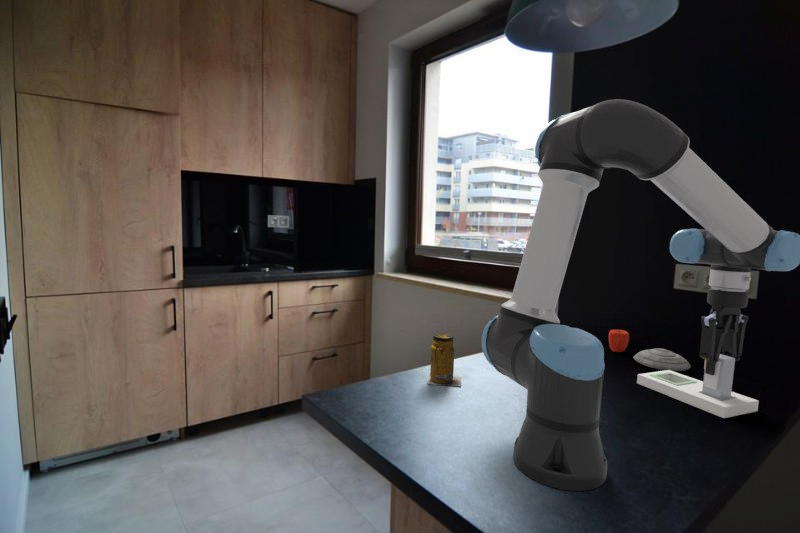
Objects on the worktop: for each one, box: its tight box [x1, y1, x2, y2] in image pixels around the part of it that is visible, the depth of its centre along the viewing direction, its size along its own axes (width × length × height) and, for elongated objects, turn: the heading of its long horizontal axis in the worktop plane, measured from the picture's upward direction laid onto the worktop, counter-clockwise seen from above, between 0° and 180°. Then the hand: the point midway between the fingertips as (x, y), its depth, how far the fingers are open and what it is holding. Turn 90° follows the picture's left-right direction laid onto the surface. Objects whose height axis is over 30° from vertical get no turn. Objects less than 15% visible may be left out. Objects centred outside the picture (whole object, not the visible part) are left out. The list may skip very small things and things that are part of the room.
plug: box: [702, 353, 736, 401], centre depth 103 cm, size 4×5×11 cm
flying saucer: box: [633, 347, 692, 372], centre depth 132 cm, size 15×15×6 cm
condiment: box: [427, 333, 462, 387], centre depth 113 cm, size 7×8×12 cm
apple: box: [608, 329, 630, 353], centre depth 146 cm, size 6×6×8 cm
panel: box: [636, 370, 760, 419], centre depth 108 cm, size 12×22×3 cm, turn 22°
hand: (717, 386), depth 103 cm, fingers closed on plug, 4 cm apart
